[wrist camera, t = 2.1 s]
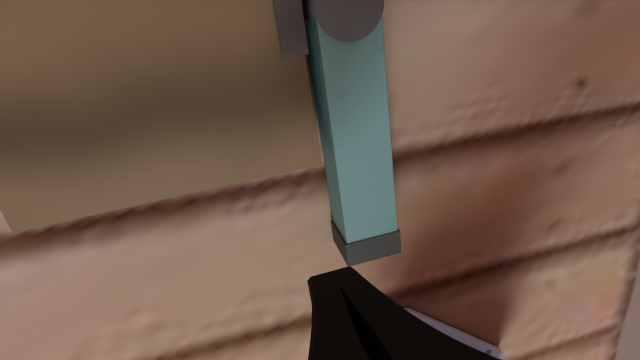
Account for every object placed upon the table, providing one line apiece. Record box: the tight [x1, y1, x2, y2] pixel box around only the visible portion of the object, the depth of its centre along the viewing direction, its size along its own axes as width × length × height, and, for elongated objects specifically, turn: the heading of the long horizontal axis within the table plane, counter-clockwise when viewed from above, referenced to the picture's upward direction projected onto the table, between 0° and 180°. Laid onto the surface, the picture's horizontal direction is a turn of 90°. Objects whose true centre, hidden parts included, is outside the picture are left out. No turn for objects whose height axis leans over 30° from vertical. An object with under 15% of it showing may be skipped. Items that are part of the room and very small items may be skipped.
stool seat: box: [0, 0, 322, 233], centre depth 16 cm, size 10×23×3 cm, turn 99°
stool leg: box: [301, 0, 401, 267], centre depth 17 cm, size 12×3×3 cm, turn 9°
